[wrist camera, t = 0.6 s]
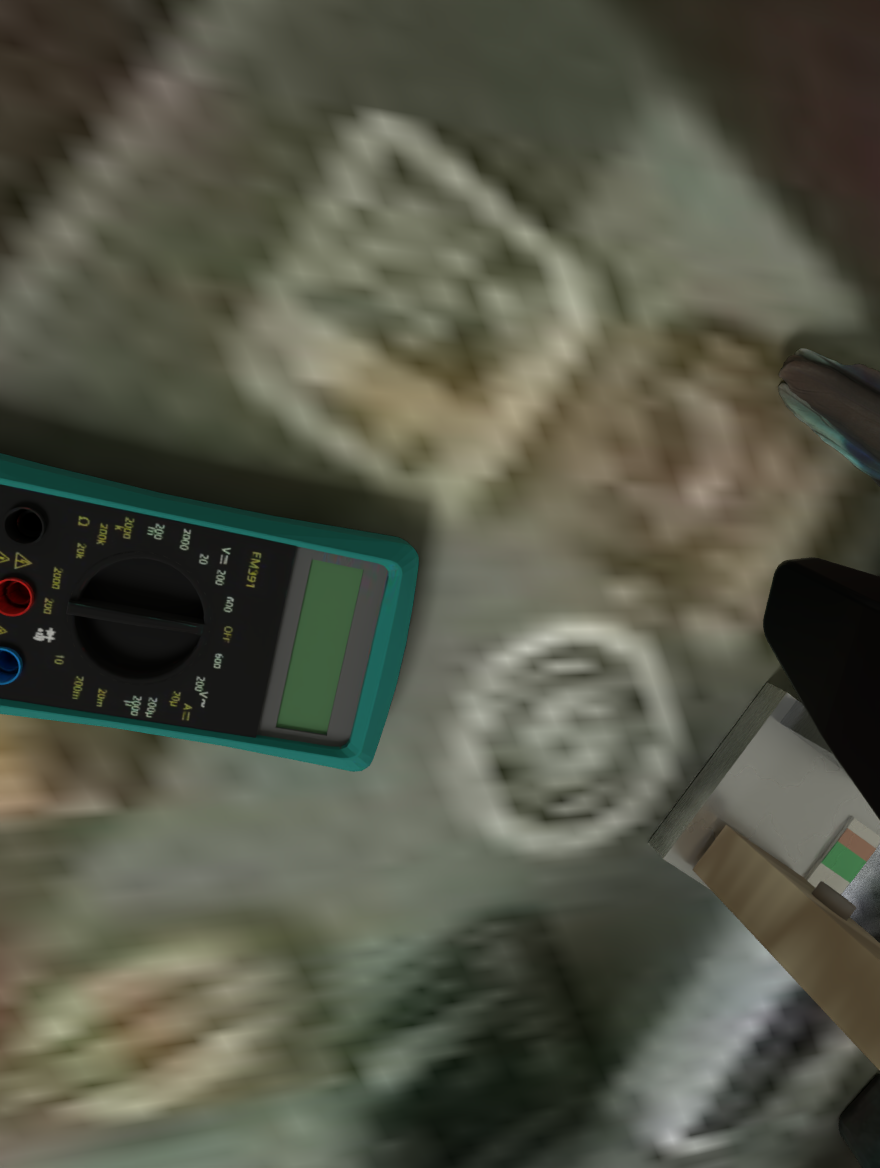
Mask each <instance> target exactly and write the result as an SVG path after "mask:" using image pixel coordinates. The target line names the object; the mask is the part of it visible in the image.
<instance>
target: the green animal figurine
mask: <svg viewBox="0 0 880 1168" xmlns="http://www.w3.org/2000/svg"><path fill="white" fill-rule="evenodd" d="M839 1131H840V1134H841V1136H842V1137H843V1139H844V1140H845V1142H846V1143H847V1145H848V1146H849V1148H850V1149H851V1151H852V1153H853V1154H854V1156H855V1157H856V1159H857V1160H858V1162H859V1164H860V1166H861V1167H862V1168H880V1074H878V1075H877V1076H876V1077H875V1078H874V1079H873V1080H872V1081H871V1082H870V1084H869V1085H868V1086H867V1087H866V1088H865V1089H864V1090H863V1091H862V1092H861V1093H860V1094H859V1096H858V1097H857V1098H856V1099H855V1100H854V1101H853V1102H852V1103H851V1104H850V1106H849V1107H848V1108H847V1109H846V1110H845V1111H844V1112H843V1114H842V1115H841V1117H840V1121H839Z"/></svg>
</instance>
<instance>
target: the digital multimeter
mask: <svg viewBox="0 0 880 1168" xmlns="http://www.w3.org/2000/svg"><path fill="white" fill-rule="evenodd" d="M0 484H2V485H0V714H7V715H15V716H23V717H31V718H39V719H47V720H55V721H63V722H71V723H79V724H87V725H96V726H104V727H112V728H118V729H124V730H130V731H136V732H142V733H148V734H155V735H161V736H167V737H173V738H179V739H185V740H191V741H197V742H203V743H209V744H215V745H221V746H227V747H232V748H237V749H242V750H247V751H252V752H257V753H262V754H268V755H273V756H278V757H283V758H288V759H293V760H298V761H303V762H308V763H313V764H318V765H323V766H328V767H333V768H338V769H343V770H348V771H353V772H354V771H362V770H364V769H365V768H367V767H368V766H370V764H371V762H372V760H373V758H374V755H375V752H376V749H377V746H378V743H379V740H380V737H381V734H382V731H383V728H384V725H385V722H386V718H387V715H388V712H389V708H390V705H391V702H392V698H393V695H394V692H395V688H396V685H397V681H398V677H399V672H400V668H401V664H402V659H403V655H404V651H405V647H406V642H407V636H408V630H409V624H410V619H411V613H412V607H413V601H414V594H415V587H416V580H417V573H418V566H419V556H418V554H417V552H416V551H415V549H414V548H413V547H412V546H411V545H410V544H409V543H408V542H406V541H405V540H403V539H401V538H399V537H395V536H389V535H383V534H377V533H371V532H365V531H360V530H354V529H348V528H342V527H336V526H330V525H324V524H319V523H313V522H307V521H301V520H295V519H289V518H283V517H277V516H272V515H267V514H262V513H257V512H252V511H247V510H242V509H237V508H232V507H227V506H222V505H218V504H213V503H208V502H203V501H198V500H193V499H188V498H183V497H178V496H173V495H168V494H163V493H159V492H155V491H151V490H147V489H143V488H138V487H134V486H130V485H126V484H122V483H118V482H114V481H110V480H105V479H101V478H97V477H93V476H89V475H85V474H81V473H76V472H72V471H68V470H64V469H60V468H56V467H52V466H48V465H44V464H40V463H36V462H32V461H29V460H25V459H21V458H17V457H13V456H10V455H6V454H2V453H0ZM4 485H7V486H4ZM9 486H12V487H9ZM14 487H16V488H14ZM19 488H21V489H19ZM24 489H26V490H24ZM28 490H31V491H28ZM33 491H36V492H33ZM38 492H40V493H38ZM43 493H45V494H43ZM48 494H50V495H48ZM52 495H54V496H52ZM57 496H59V497H57ZM62 497H64V498H62ZM67 498H69V499H67ZM72 499H73V500H72ZM76 500H78V501H76ZM81 501H83V502H81ZM86 502H87V503H86ZM91 503H92V504H91ZM96 504H97V505H96ZM100 505H102V506H100ZM105 506H106V507H105ZM110 507H111V508H110ZM115 508H116V509H115ZM124 510H125V511H124ZM129 511H130V512H129ZM134 512H135V513H134ZM148 515H149V516H148ZM153 516H154V517H153ZM172 520H173V521H172ZM177 521H178V522H177ZM196 525H197V526H196ZM201 526H202V527H201ZM206 527H207V528H206ZM215 529H216V530H215ZM220 530H221V531H220ZM225 531H226V532H225ZM230 532H231V533H230ZM235 533H236V534H235ZM239 534H240V535H239ZM244 535H245V536H244ZM249 536H250V537H249ZM254 537H255V538H254ZM259 538H260V539H259ZM263 539H265V540H263ZM268 540H269V541H268ZM273 541H274V542H273ZM278 542H279V543H278ZM283 543H284V544H283ZM287 544H288V545H287ZM292 545H293V546H292ZM126 552H127V553H126ZM121 553H122V554H121ZM153 553H154V554H153ZM110 556H111V557H110ZM108 557H109V558H108ZM166 557H167V558H166ZM98 562H99V563H98ZM178 563H179V564H178ZM95 564H96V565H95ZM387 576H388V578H387ZM386 580H387V582H386ZM78 581H79V582H78ZM385 585H386V586H385ZM384 589H385V590H384ZM383 593H384V594H383ZM71 594H72V595H71ZM67 621H68V622H67ZM209 631H210V632H209ZM80 655H81V656H80ZM179 673H180V674H179ZM102 674H103V675H102ZM167 679H168V680H167ZM115 680H116V681H115ZM157 682H158V683H157ZM127 683H129V684H127ZM139 684H144V685H139Z"/></svg>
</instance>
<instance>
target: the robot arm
mask: <svg viewBox="0 0 880 1168" xmlns="http://www.w3.org/2000/svg"><path fill="white" fill-rule="evenodd" d="M763 627H764V633H765V636H766V639H767V641H768V643H769V645H770V646H771V648H772V650H773V652H774V654H775V655H776V657H777V659H778V661H779V662H780V664H781V666H782V668H783V670H784V671H785V673H786V675H787V677H788V679H789V680H790V682H791V684H792V686H793V687H794V689H795V691H796V693H797V695H798V696H799V698H800V700H801V702H802V704H803V705H804V707H805V709H806V711H807V712H808V714H809V716H810V718H811V720H812V721H813V723H814V725H815V726H816V728H817V730H818V731H819V733H820V735H821V737H822V738H823V740H824V741H825V743H826V744H827V746H828V747H829V749H830V750H831V752H832V753H833V755H834V756H835V758H836V759H837V760H838V762H839V763H840V765H841V766H842V767H843V769H844V770H845V772H846V773H847V775H848V776H849V777H850V779H851V780H852V782H853V783H854V785H855V786H856V787H857V789H858V790H859V792H860V793H861V794H862V796H863V797H864V799H865V800H866V802H867V803H868V804H869V806H870V807H871V809H872V810H873V811H874V813H875V814H876V816H877V817H878V819H879V820H880V577H879V576H876V575H872V574H869V573H866V572H862V571H859V570H856V569H852V568H849V567H846V566H842V565H839V564H836V563H832V562H829V561H826V560H822V559H819V558H801V559H793V560H786V561H784V562H782V563H781V564H780V565H779V566H778V567H777V569H776V571H775V573H774V577H773V581H772V585H771V590H770V594H769V598H768V602H767V606H766V610H765V614H764V620H763Z"/></svg>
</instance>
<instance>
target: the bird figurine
mask: <svg viewBox="0 0 880 1168" xmlns="http://www.w3.org/2000/svg"><path fill="white" fill-rule="evenodd" d="M779 377H780V378H782V379H783V380H784V381H785V382H786V383H787V384H786V383H781V384H780V385H779V387H778V389H779V394H780V396H781V398H782V399H783V401H784V403H785V405H786V407H787V408H788V409H789V410H791V411H792V412H793V413H794V415H795V416H796V417H797V418H798V419H799V420H800V421H802V422H804V423H805V424H807V425H808V426H809V427H810V428H811V429H812V430H813V432H815V433H816V434H817V435H819V436H820V438H821V439H822V440H823V441H824V442H825V443H827V444H829V445H830V446H832V447H833V448H834V449H836V450H837V451H839V452H840V453H841V454H842V455H844V456H845V457H846V458H847V459H848V460H849V461H850V462H851V463H852V464H853V465H854V466H855V467H857V468H858V469H859V470H861V471H862V472H864V473H866V474H868V475H869V476H870V477H871V478H872V479H873V480H874V481H875V482H876V484H877V485H878V486H879V487H880V372H879V371H877V370H875V369H872V368H868V367H867V366H865V365H862V364H855V365H842V364H840V363H838V362H836V361H834V360H831V359H828V358H826V357H824V356H822V355H819V354H818V353H815V352H813V351H811V350H808V349H806V348H804V349H803V348H800V350H797V351H796V352H795V354H794V355H791V356H789V357H788V358H787V360H786V361H785V362H784V365H783V367H782V368H781V370H780V372H779Z"/></svg>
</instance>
